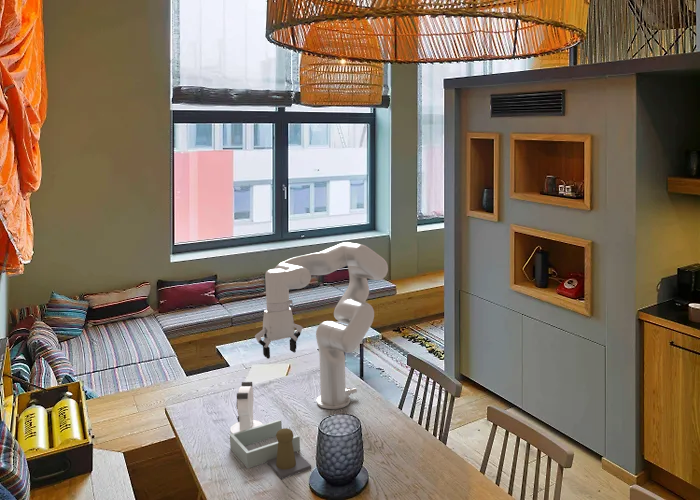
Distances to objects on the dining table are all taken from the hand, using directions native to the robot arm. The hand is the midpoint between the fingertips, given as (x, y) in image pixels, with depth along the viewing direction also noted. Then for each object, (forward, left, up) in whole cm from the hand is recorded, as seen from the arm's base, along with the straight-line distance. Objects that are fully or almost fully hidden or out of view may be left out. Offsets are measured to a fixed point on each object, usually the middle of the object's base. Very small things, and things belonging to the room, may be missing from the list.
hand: (280, 354), depth 198 cm
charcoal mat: (+10, +24, -26) cm, 37 cm away
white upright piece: (+11, -6, -26) cm, 29 cm away
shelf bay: (+12, +11, -26) cm, 31 cm away
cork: (+11, +24, -26) cm, 37 cm away
